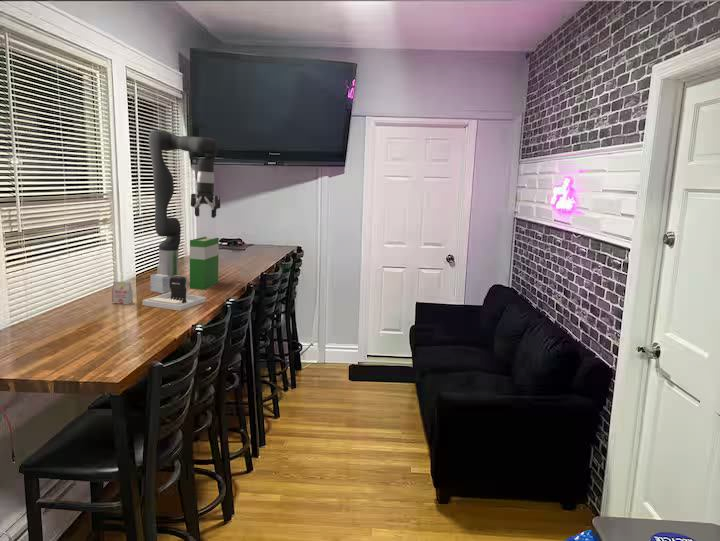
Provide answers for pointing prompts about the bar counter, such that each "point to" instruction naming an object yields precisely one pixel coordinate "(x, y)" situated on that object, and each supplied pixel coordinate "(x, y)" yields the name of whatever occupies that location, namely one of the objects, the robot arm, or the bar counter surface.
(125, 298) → the tea bag
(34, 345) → the bar counter surface
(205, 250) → the hardback book
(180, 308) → the tray
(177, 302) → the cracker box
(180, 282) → the battery charger
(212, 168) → the robot arm
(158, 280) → the medicine box
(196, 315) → the bar counter surface
